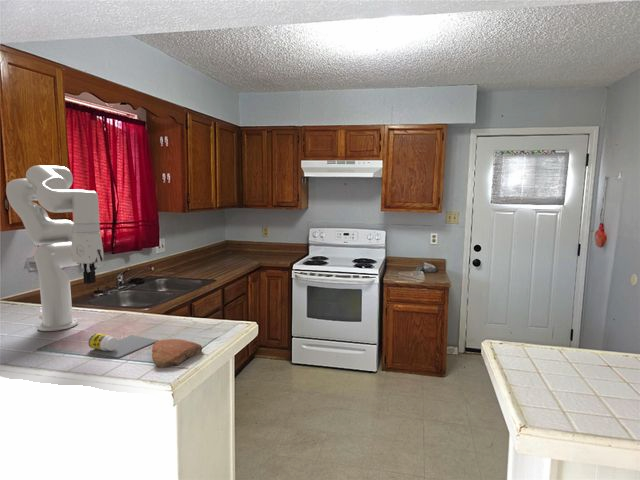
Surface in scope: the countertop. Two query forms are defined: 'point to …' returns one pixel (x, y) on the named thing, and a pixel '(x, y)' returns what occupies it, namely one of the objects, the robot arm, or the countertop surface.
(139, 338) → the mat
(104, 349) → the supplement bottle
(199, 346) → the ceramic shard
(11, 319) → the countertop surface
